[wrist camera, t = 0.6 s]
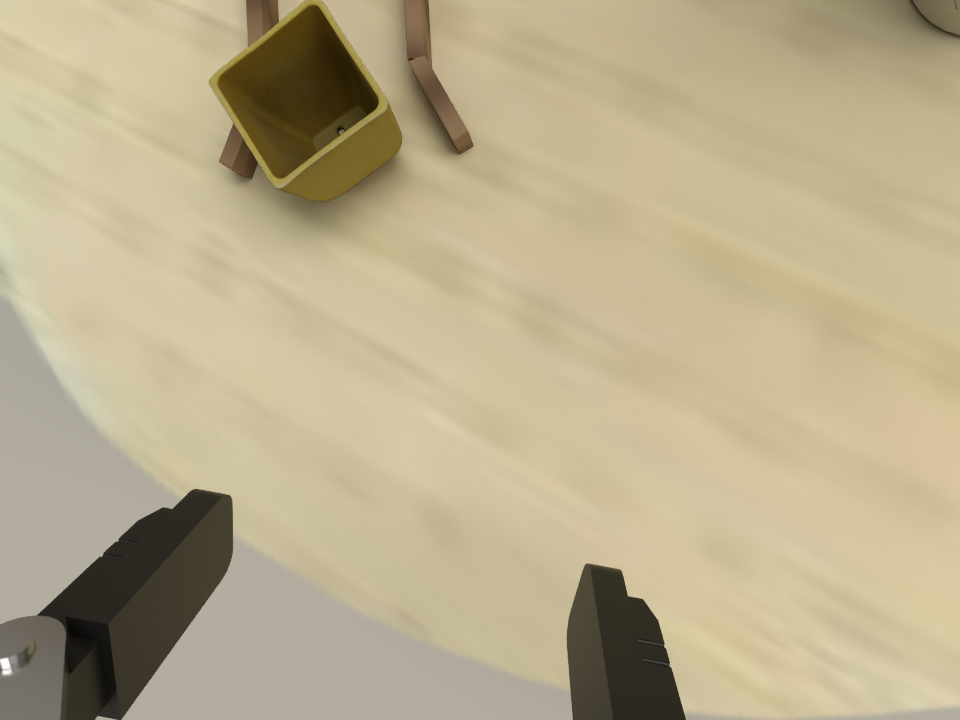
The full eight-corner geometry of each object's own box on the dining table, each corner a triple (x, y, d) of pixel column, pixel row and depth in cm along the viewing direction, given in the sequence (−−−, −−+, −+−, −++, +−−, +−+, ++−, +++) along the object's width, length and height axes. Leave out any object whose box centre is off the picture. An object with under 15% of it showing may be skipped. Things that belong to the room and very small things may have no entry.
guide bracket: (473, 152, 40) (458, 114, 34) (238, 180, 43) (187, 150, 37) (459, -108, 40) (441, -189, 34) (227, -63, 43) (174, -132, 37)
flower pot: (335, 229, 41) (273, 191, 33) (278, 139, 42) (203, 77, 33) (428, 162, 40) (390, 104, 32) (368, 71, 41) (315, -10, 32)
